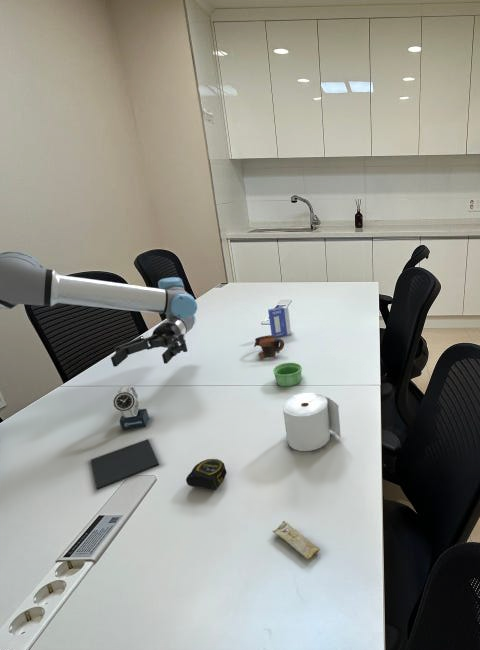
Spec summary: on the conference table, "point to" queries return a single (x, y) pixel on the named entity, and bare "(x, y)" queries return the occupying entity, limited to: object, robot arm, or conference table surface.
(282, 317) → the walkman
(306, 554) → the snack bar
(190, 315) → the robot arm
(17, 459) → the conference table surface
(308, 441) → the toilet tissue
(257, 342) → the pottery mug
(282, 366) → the ramekin
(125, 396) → the watch
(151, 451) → the dark mat
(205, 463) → the tape measure
